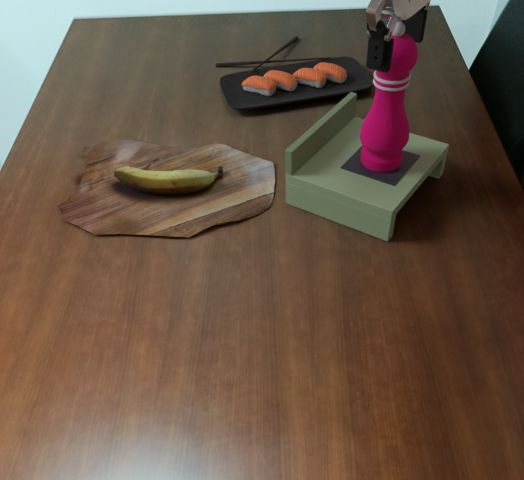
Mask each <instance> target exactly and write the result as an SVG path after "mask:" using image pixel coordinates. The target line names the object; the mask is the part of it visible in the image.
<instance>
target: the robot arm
mask: <svg viewBox="0 0 524 480" xmlns="http://www.w3.org/2000/svg"><path fill="white" fill-rule="evenodd" d="M431 1H432V0H370V1H369V2H368V5H367V7H366V9H365V16H366V29H367V30H366V31H367V32H366V33H367V38H368V41H367V52H366V60H365V61H366V63H365V66H366V68H367V69H369V70H373V71H375V70H377V71H381V72H385V73H387V72H389V71H390V69H391V61H392V53H393V46H394V39H392V38H391V37H392V34H393V32H394V29H395V26H396V23H397V22H399V18H400V19H401V22H402V23H403V24H404V25H405V32H404V34H407V35H409V36H410V37H412V38H413V39H414V41H415V42H416V44H420V43H422V42H423V41H424V36H425V30H426V23H427V18H428V13H429V10H428V9H429V7H430V5H431V4H430V3H431ZM387 8H390V9H387ZM391 9H393V10H391ZM382 18H383V19H388V22H387V25H386V24H385V22H384V21H383V20H382Z"/></svg>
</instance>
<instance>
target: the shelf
mask: <svg viewBox="0 0 524 480" xmlns="http://www.w3.org/2000/svg"><path fill="white" fill-rule="evenodd" d="M357 99H358V92H355V93H353V92H350V93H349V94H346V96H345V97H343V99H340V101H339V102H338V103H337V104H335V105H334V106H333V107H332V108H331V109H330V110H329V111H327V112H326V113H325V114H324V115H322V116H321V118H320V119H319V120H318V121H316V122H315V123H314V124H313V125H312V126H311V127H309V128H308V129H307V130H306V131H305V132H304V133H303V134H302V135H300V136H299V138H297V139H296V140H295V141H294V142H293V143H292V144H290V145H289V146H288V147H287V148H286V149H285V150H284V152H285V153H284V160H285V161H284V162H285V163H284V164H285V166H284V167H285V169H284V170H285V172H284V174H285V204H287V205H289V206H292V207H295V208H297V209H300V210H303V211H305V212H308V213H311V214H313V215H315V216H318V217H321V218H324V219H327V220H329V221H332V222H334V223H337V224H340V225H341V226H345V227H348V228H349V229H353V230H356V231H358V232H361V233H363V234H367V235H368V236H372V237H374V238H377V239H379V240H382V241H385V242H389V241H390V240H391V239H392V237H393V235H394V229H395V223H396V218H397V214H398V213H399V212H400V210H401V209H402V208H403V207H404V205H405V204H406V203H407V202H408V201H409V199H410V198H411V197H412V196H413V194H414V193H415V192H416V191H417V190H418V189H419V188H420V186H421V185H422V184H423V183H424V182H425V180H426V179H427V178H428V177H431V178H434V179H437V180H440V179H441V177H442V175H443V174H444V171H445V166H446V161H447V157H448V153H449V148H450V144H449V143H446V142H443V141H439V140H435V139H432V138H429V137H426V136H422V135H418V134H415V133H413V132H409V140H408V143H407V144H406V146H405V147H404V148H403V149H402V150H403V157H402V163H401V165H400V166H399V167H398V168H397V169H395V170H393V171H390V172H375V171H371V170H369V169H367V168H365V167H364V166H363V165H362V163H361V150H362V147H363V145H362V144H361V141H360V130H361V126H362V124H363V121H364V119H365V118H361V117H358V116H356V113H357V112H356V111H357V102H358V101H357Z"/></svg>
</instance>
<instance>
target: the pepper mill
mask: <svg viewBox="0 0 524 480" xmlns="http://www.w3.org/2000/svg"><path fill="white" fill-rule="evenodd" d="M404 32H405V25H404V24H403V23H402V21H397V23H396V26H395V29H394V32H393V34H392V37H391V38H392V39H394V46H393V53H392V61H391V69H390V71H389V72H387V73H385V72H381V71H377V70H374V72H373V80H372V82H373V86H374V87H375V91H374V92H375V93H374V97H373V102H372V105H371V108H370V109H369V111H368V113H367V114H366V116H365V117H364V118H363V119H364V121H363V124H362V126H361V130H360V141H361V144H362V145H363V147H362V150H361V163H362V165H363V166H364V167H365V168H367V169H369V170H371V171H375V172H390V171H393V170H395V169H397V168H398V167H399V166H400V165H401V163H402V157H403V150H402V149H403V148H404V147H405V146H406V144H407V143H408V140H409V133H411V132H410V123H409V120H408V116H407V112H406V109H405V93H406V89H407V88H408V87H409V86H410V84H411V80H410V79H411V78H412V73H411V71H412V70H413V69H414V67H415V66H416V64H417V62H418V56H419V49H418V45H417V44H418V43H417V42H415V41H414V39H413V38H412V37H410V36H409V35H407V34H404Z"/></svg>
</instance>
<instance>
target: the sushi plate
mask: <svg viewBox="0 0 524 480" xmlns="http://www.w3.org/2000/svg"><path fill="white" fill-rule="evenodd" d="M298 40H299V36H298V35H295V36H294V37H293V38H291V39H290V40H289V41H287V42H286V43H284V44H283V46H281V47H280V48H278V49H277V50H276V51H275V52H274V53H272V54H271V55H270V56H268V58H266V59H264V60H251V61H250V60H249V61H248V60H246V61H230V62H216V63H215V67H216V68H221V67H236V66H237V67H238V66H247V65H249V66H250V65H257V66H255V67H254V68H253V69H250V70H244V71H243V70H242V71H237V72H232V73H228V74H225V75H223V76H221V77H220V78H219V87H220V89H221V92H222V94H223V97H224V99H225V102H226V103H227V105H228V106H229V107H230V108H231V110H234V111H248V110H249V111H250V110H256V109H262V108H263V109H264V108H268V107H269V108H270V107H274V106H275V107H276V106H281V105H288V104H295V103H300V102H306V101H312V100H318V99H325V98H332V97H338V96H343V95H348V94H349V93H350V92H353V93H360V92H364V91H368V90H370V89H371V88H373V86H374V84H373V80H372V78H371V76H370V75H369V73H368V71H366V69H365V68H364V67H363V66H362V65H361V63H360V62H359V61H358V60H357V59H355V58H354V57H352V56H334V57H331V56H325V57H322V56H321V57H307V58H306V57H305V58H304V57H303V58H289V59H288V58H287V59H272V58H274V57H275V56H277V55H278V54H280V53H281V52H282V51H284V50H285V49H287V48H289V47H290V46H291V45H292V44H294V43H295V42H296V41H298ZM287 62H295V63H289V64H282V65H276V66H269V67H263V68H260V67H261V66H264V64H276V63H287Z"/></svg>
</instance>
